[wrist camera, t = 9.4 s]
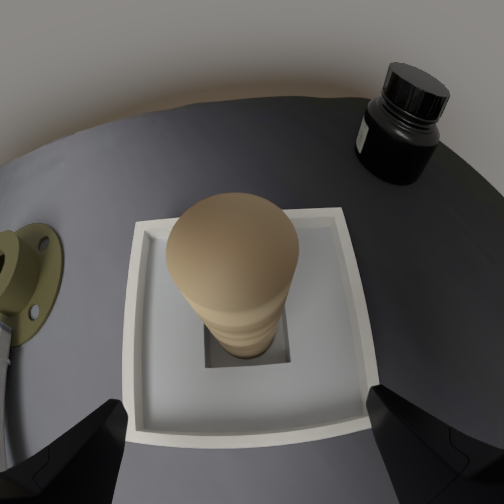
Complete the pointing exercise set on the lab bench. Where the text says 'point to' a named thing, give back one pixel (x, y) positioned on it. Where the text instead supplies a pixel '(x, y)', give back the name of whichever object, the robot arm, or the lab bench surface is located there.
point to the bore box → (252, 370)
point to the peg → (235, 268)
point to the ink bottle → (402, 125)
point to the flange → (28, 279)
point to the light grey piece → (3, 386)
